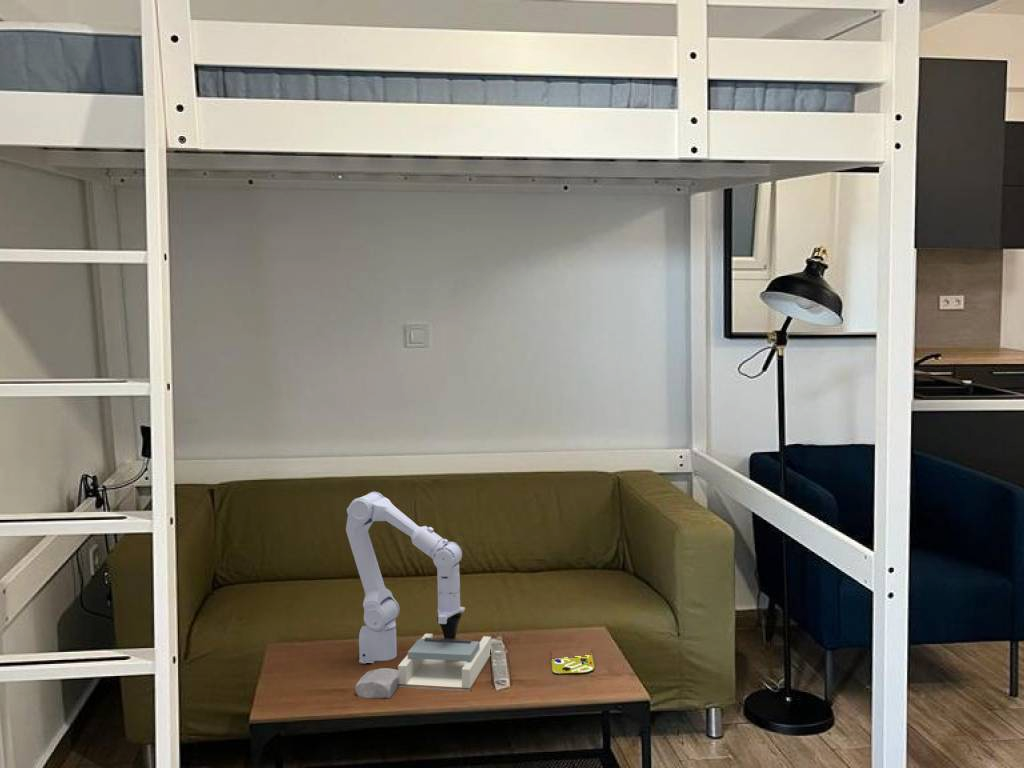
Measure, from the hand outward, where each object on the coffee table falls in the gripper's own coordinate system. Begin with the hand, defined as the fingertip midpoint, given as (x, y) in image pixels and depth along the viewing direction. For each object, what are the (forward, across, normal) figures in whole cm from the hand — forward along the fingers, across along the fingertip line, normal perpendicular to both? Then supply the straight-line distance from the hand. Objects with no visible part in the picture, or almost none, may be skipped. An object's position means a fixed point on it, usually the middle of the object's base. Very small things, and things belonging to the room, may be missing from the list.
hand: (450, 642), depth 260 cm
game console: (+7, +8, -31) cm, 32 cm away
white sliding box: (+6, -4, 0) cm, 7 cm away
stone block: (+7, -17, +14) cm, 23 cm away
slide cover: (+1, -6, 0) cm, 6 cm away
